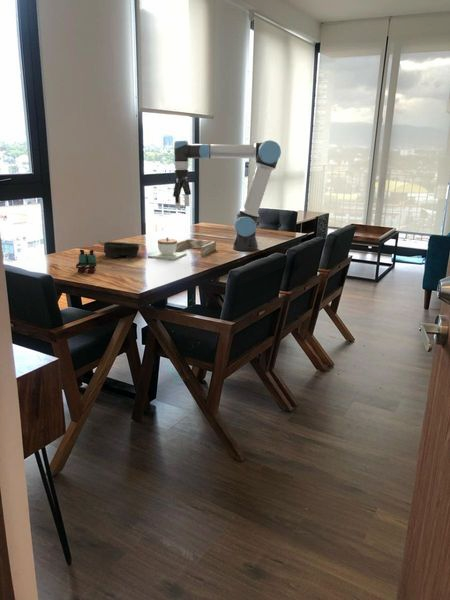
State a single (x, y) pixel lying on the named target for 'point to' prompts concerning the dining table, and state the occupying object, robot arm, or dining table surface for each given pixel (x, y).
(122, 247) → the stone bowl
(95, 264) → the binoculars
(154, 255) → the pad
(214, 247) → the cubby
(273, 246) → the dining table surface
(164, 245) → the lidded jar
